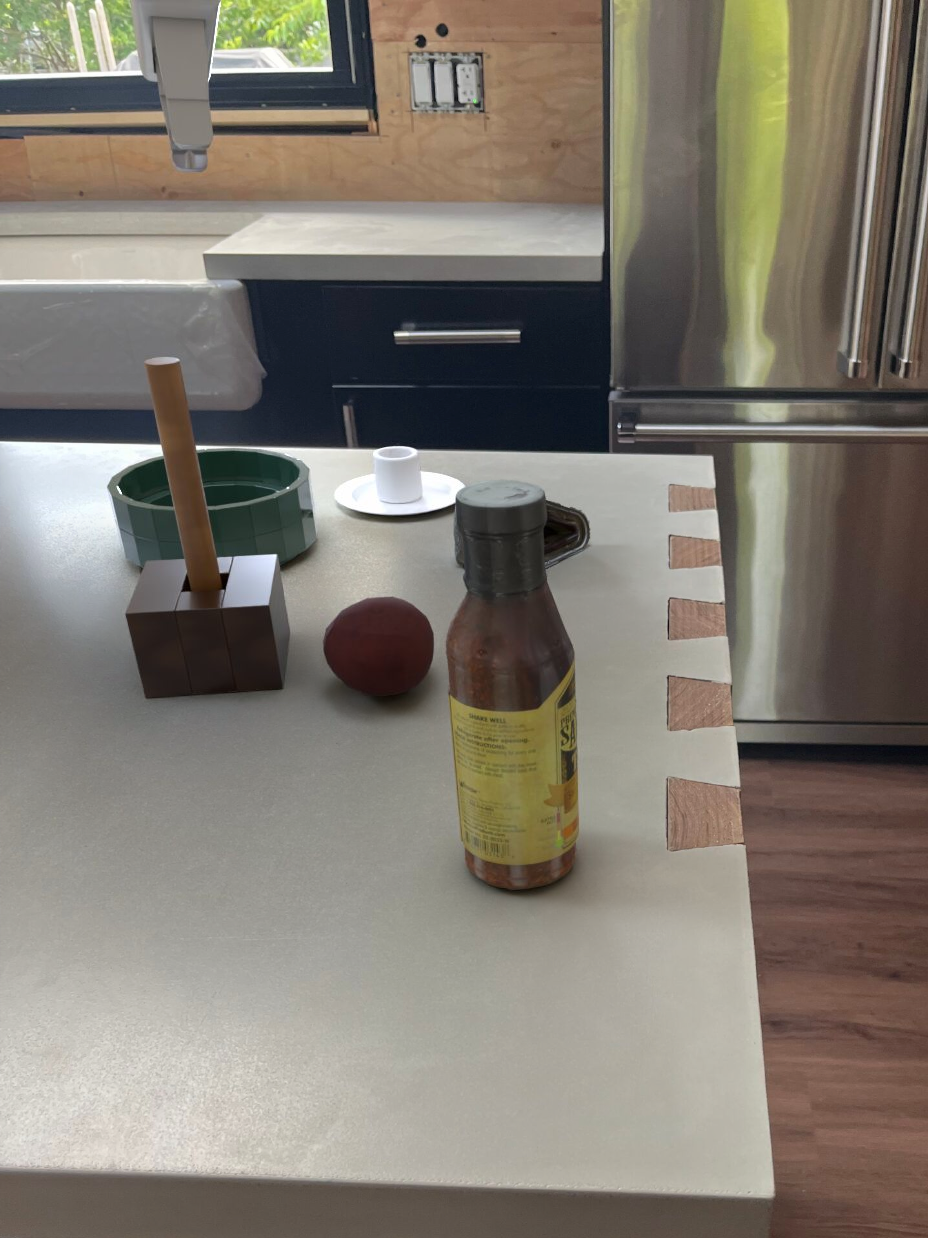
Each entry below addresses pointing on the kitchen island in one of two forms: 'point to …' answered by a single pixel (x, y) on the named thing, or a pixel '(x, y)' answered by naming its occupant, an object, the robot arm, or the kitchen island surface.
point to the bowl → (219, 506)
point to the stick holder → (210, 628)
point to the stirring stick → (183, 472)
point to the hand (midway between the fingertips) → (192, 160)
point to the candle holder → (398, 486)
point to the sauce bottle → (511, 694)
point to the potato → (380, 646)
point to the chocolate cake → (550, 534)
